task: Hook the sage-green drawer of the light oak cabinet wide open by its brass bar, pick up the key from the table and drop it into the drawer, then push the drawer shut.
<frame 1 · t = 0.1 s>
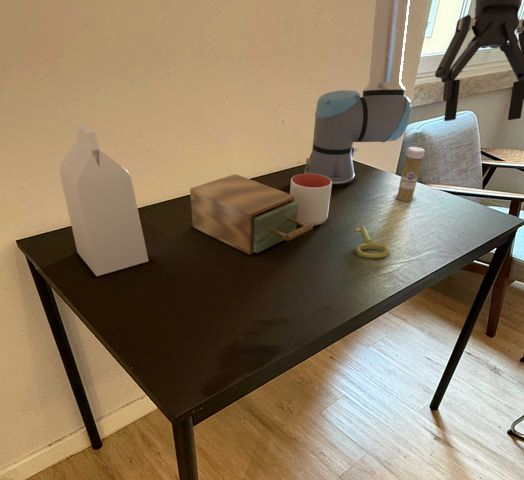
hand: (482, 120, 87), 28 cm above the table, tool tilted 20°, fingers open, 13 cm apart
milk: (112, 257, 99), on the table
key: (367, 247, 105), on the table
cup: (307, 220, 116), on the table
drawer: (258, 219, 104), point 5 cm above the table, slide at 0.5 cm
sprinkles bottle: (404, 198, 129), on the table
cabinet: (241, 230, 110), on the table
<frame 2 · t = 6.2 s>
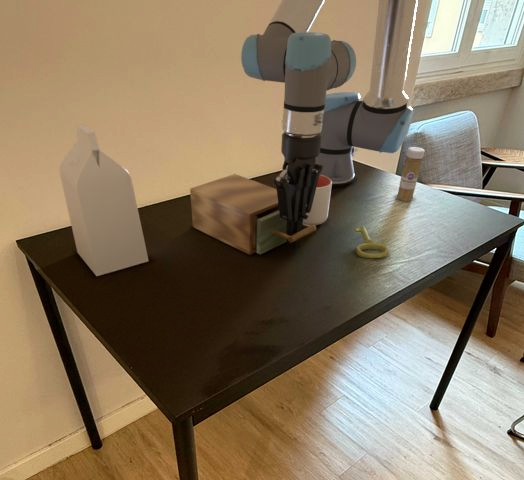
hand: (293, 246, 100), 2 cm above the table, tool pointing down, fingers closed
drawer: (262, 220, 103), point 5 cm above the table, slide at 1.5 cm, touching gripper
everything else where it was.
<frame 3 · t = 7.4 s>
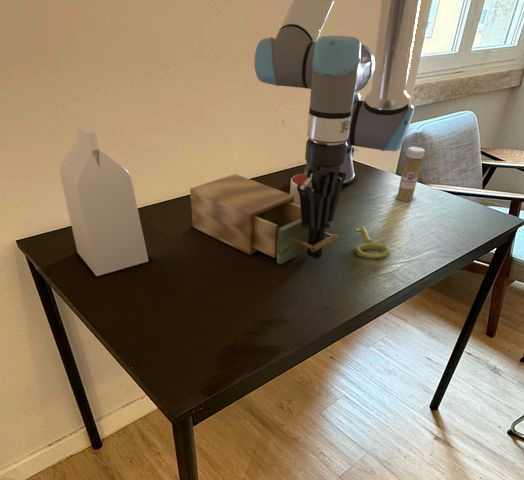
hand: (314, 255, 97), 2 cm above the table, tool pointing down, fingers closed
drawer: (281, 228, 100), point 5 cm above the table, slide at 7.5 cm, touching gripper
everything else where it was.
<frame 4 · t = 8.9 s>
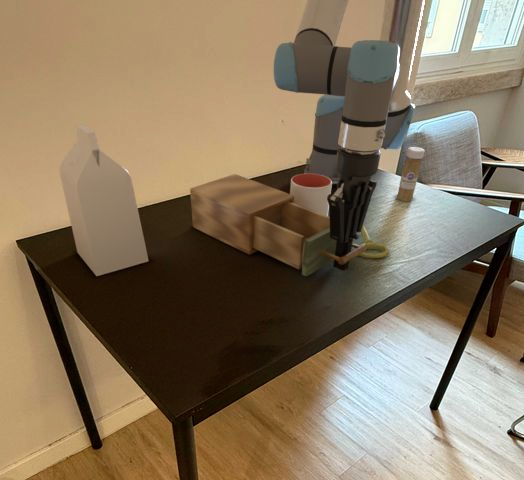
hand: (340, 267, 94), 2 cm above the table, tool pointing down, fingers closed
drawer: (305, 239, 97), point 5 cm above the table, slide at 14.5 cm, touching gripper
everything else where it was.
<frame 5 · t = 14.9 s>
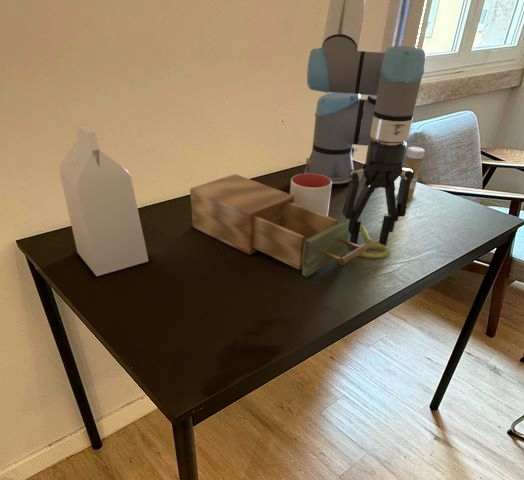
hand: (367, 245, 105), 1 cm above the table, tool pointing down, fingers closed on key, 6 cm apart
key: (367, 247, 105), on the table, touching gripper
drawer: (306, 239, 97), point 5 cm above the table, slide at 14.6 cm
everything else where it was.
when the fingers open (9 cm above the table, at t = 20.0 s): key drops 5 cm, resting on drawer.
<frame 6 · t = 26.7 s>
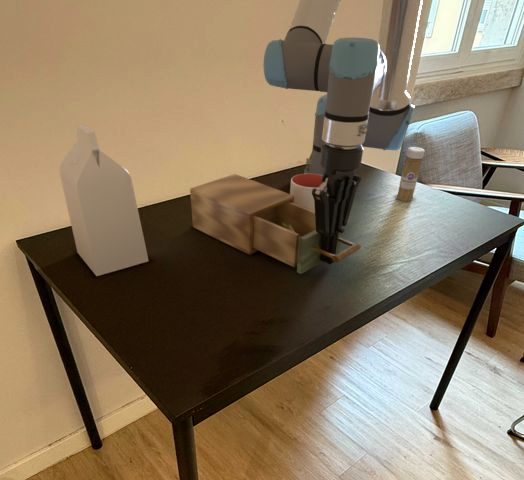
hand: (327, 260, 96), 2 cm above the table, tool pointing down, fingers closed
key: (291, 241, 99), point 3 cm above the table, touching drawer
drawer: (301, 237, 98), point 5 cm above the table, slide at 13.1 cm, touching gripper, key
everything else where it was.
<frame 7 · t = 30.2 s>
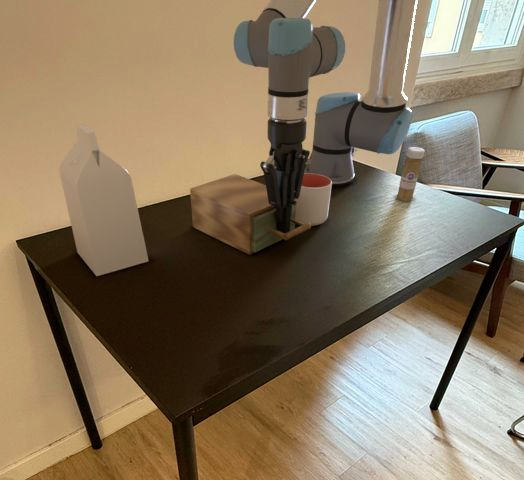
hand: (283, 232, 101), 4 cm above the table, tool pointing down, fingers closed
key: (249, 223, 106), point 3 cm above the table, touching drawer
drawer: (257, 218, 104), point 5 cm above the table, slide at 0.0 cm, touching cabinet, key
everything else where it was.
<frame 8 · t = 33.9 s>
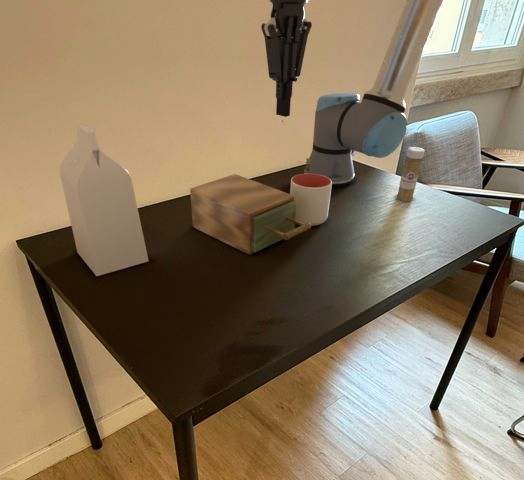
hand: (282, 115, 100), 24 cm above the table, tool pointing down, fingers closed
nothing on the table moved.
at the end: drawer pulled out 14.6 cm at the most during the clip, back to where it started at the end; key inside the target area in the cabinet (3.2 cm from its centre), point 3.2 cm above the cabinet's base; drawer slide at 0.0 cm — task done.
